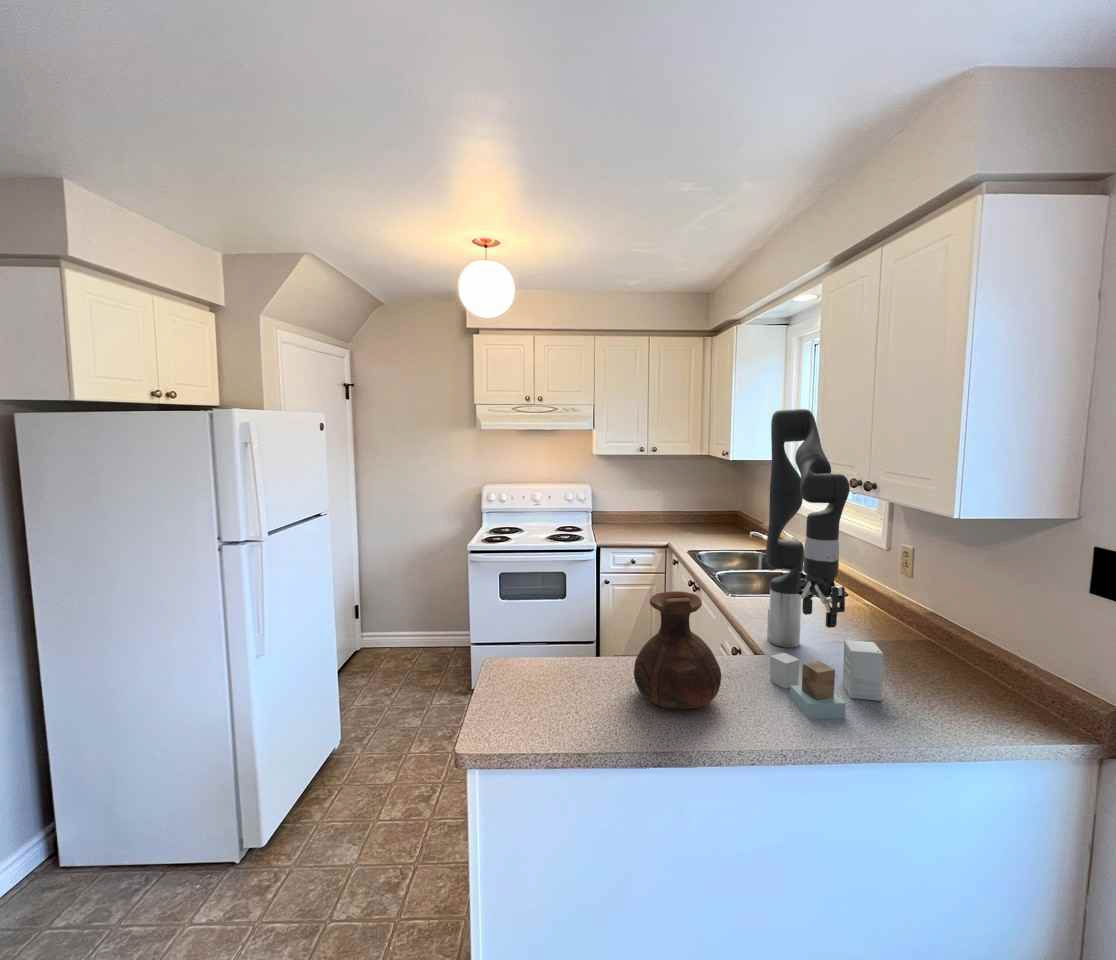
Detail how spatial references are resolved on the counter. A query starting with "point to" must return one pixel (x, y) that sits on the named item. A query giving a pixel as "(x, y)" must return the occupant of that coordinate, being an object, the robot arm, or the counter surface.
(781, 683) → the grey block
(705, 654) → the brown vase
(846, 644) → the supplement box
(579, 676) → the counter surface
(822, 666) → the walnut block
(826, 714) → the pedestal block
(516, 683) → the counter surface
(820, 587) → the robot arm
